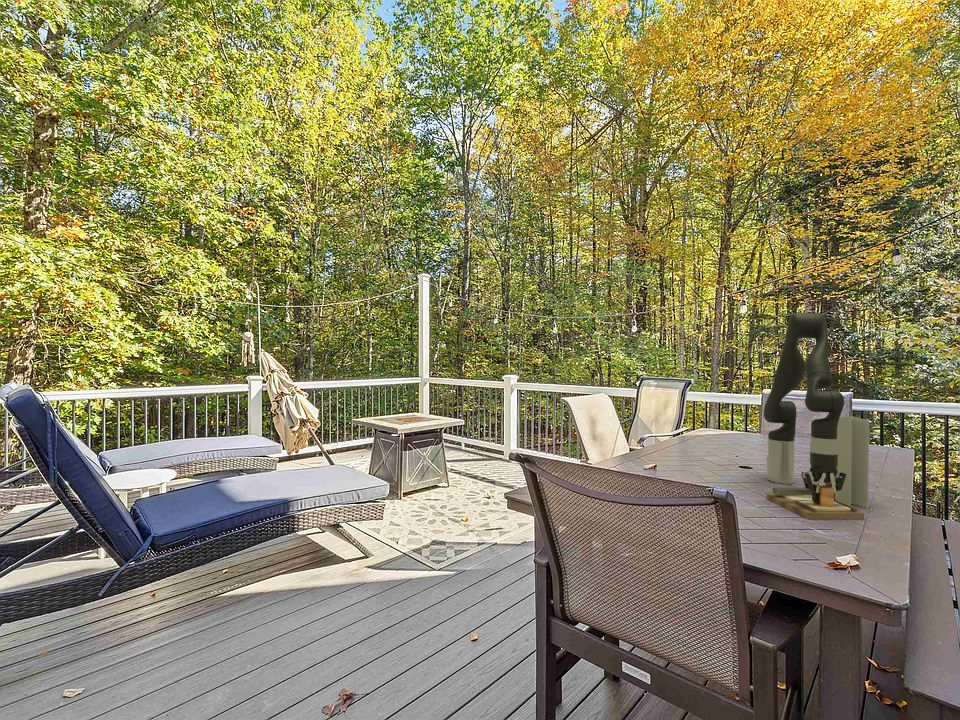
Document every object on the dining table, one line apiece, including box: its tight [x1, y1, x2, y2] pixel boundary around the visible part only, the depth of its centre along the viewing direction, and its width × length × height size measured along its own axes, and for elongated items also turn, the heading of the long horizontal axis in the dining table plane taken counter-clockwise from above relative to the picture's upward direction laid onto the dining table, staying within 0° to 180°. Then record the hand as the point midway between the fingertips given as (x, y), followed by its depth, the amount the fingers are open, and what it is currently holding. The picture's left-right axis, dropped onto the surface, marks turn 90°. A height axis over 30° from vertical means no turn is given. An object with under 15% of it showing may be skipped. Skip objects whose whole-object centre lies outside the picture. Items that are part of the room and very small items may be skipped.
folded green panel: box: [834, 415, 870, 509], centre depth 172 cm, size 14×6×30 cm, turn 168°
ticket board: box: [765, 486, 865, 520], centre depth 165 cm, size 22×18×5 cm
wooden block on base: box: [799, 484, 851, 511], centre depth 159 cm, size 8×12×7 cm, turn 91°
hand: (823, 503), depth 159 cm, fingers closed on wooden block on base, 4 cm apart
